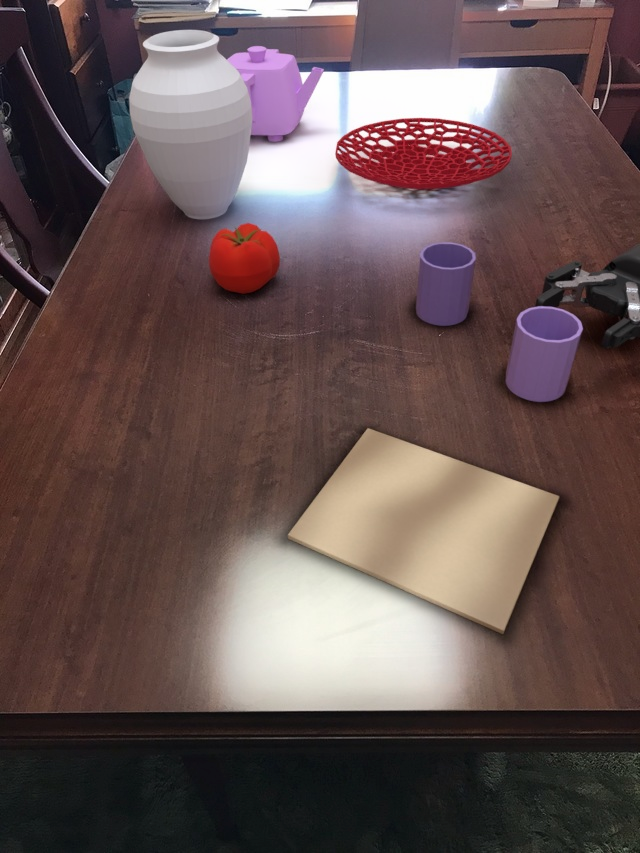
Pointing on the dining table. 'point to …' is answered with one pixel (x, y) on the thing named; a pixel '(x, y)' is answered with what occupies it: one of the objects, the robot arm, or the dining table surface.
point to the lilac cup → (444, 283)
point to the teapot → (274, 90)
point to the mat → (430, 526)
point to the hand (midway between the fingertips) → (571, 324)
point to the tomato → (243, 258)
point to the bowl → (423, 154)
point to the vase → (192, 120)
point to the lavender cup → (542, 353)
